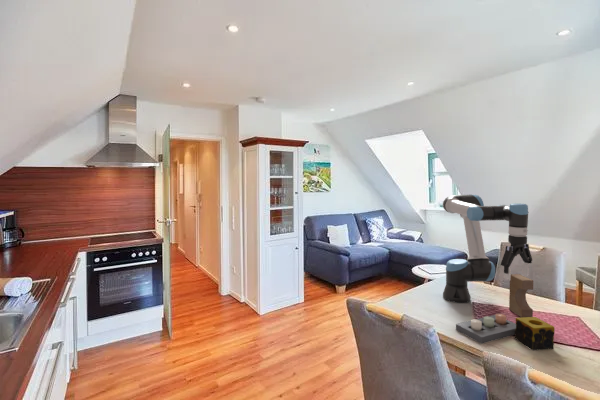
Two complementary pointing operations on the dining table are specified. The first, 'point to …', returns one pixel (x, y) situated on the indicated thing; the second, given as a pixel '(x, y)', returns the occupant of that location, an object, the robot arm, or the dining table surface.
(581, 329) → the dining table surface
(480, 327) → the cream button
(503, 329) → the panel
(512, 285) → the decorative block
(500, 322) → the terracotta button
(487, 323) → the sage button
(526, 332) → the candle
